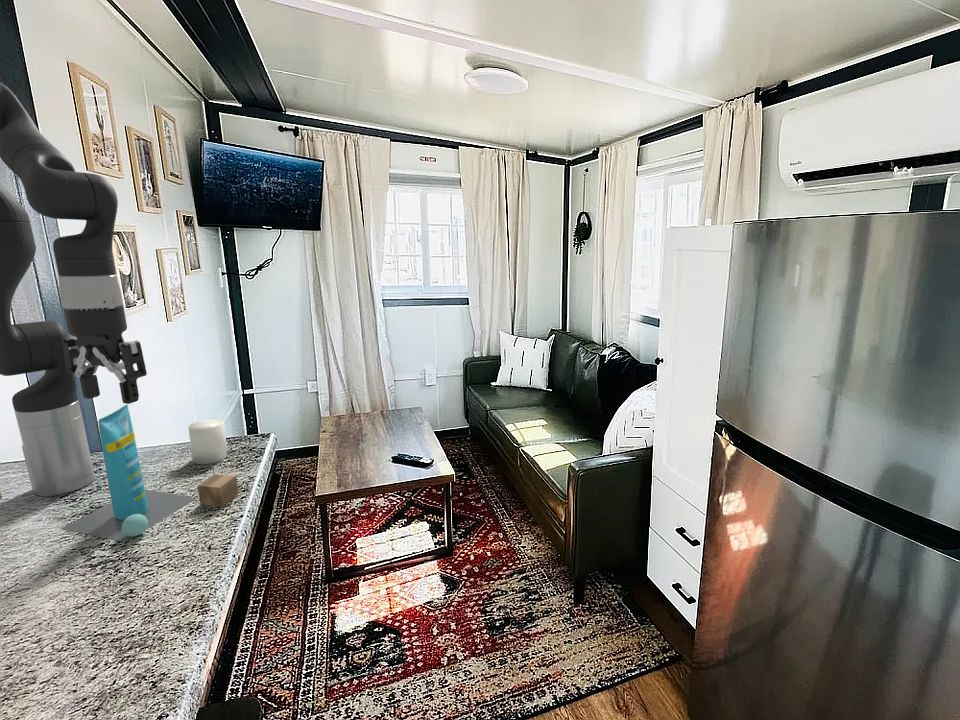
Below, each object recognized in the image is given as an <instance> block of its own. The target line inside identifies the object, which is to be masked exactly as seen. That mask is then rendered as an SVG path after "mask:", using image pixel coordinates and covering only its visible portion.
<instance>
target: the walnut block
mask: <svg viewBox="0 0 960 720" xmlns="http://www.w3.org/2000/svg"><path fill="white" fill-rule="evenodd" d="M197 491H198V492H197V493H198V497H199V504H200V505H201V506H202V505H203V506H213V507H224V506H225V505H227V504H228V503H229V502H230V501H232V500H233V499H234V498H236V497H237V496H238V495H239V488H238V482H237V476H236V475H227V474H216V473H215V474H213V475H212V476H210V477H208V478H207V479H206V480H204V481H202V482H201V483H200V484H198V485H197Z"/></svg>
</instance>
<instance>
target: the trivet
mask: <svg viewBox="0 0 960 720" xmlns="http://www.w3.org/2000/svg"><path fill="white" fill-rule="evenodd" d="M144 489H145V488H144ZM145 493H146V498H147V504H148V509H147V511H146V512H145V513H143V514H141V515H144V516H145V517H146V518H147V520H148V527H147V529H146V530H148V529H149V528H151V527H152V526H154V525H157V524H158V523H159V522H161V521H162V520H164V519H166V518H168V517H169V516H171V515H173V514H174V513H176V512H177V511H179V510H181V509H183V508H184V507H186V506H188V505H189V504H190V503H192V502H194V501H196V500H197V499H198V497H192V496H188V495H187V496H186V495H180V494H175V493H171V492H170V493H169V492H164V491H156V490H152V489H151V490H150V489H145ZM124 520H125V519H124ZM124 520H120V519H116V518H115V517H114V512H113V506H112V502H110V503H109V504H107V505H105V506H103V507H101V508H99V509H97V510H95V511H94V512H92V513H89V514H88V515H86V516H83V517H82V518H79V519H78V520H75V521H73V522H72V523H70V524H68V525H66V526H64V527H61V530H65V531H68V532H74V533H79V534H82V535H83V534H84V535H89V536H94V537H98V538H103V539H108V540H113V541H119V542H123V543H127V542H128V541H130V540H131V539H133V538H134V537H131V536H127V535H125V534H124V533H123V531H122V524H123V522H124Z"/></svg>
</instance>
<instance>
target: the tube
mask: <svg viewBox="0 0 960 720" xmlns="http://www.w3.org/2000/svg"><path fill="white" fill-rule="evenodd" d="M128 405H129V404H125V405H122V406H120V408H119V409H116V410H115V411H113V412H111V413H110V414H107V415H105V416H103V417H101V418H99V419H98V422H97V423H98V429H99V430H98V431H99V436H100V442H101V449H102V455H103V456H102V457H103V461H104V467H105V472H106V477H107V482H108V483H107V484H108V489H109V494H110V500H111V503H112V506H113V512H114V517H115V518H116V519H120V520H124V519H126V518H127V517H129V516H131V515H134V514H143V513H145V512H146V511H147V509H148V504H147V498H146V493H145V483H144V480H143V475H142V469H141V464H140V459H139V458H140V457H139V453H138V448H137V447H138V446H137V442H136V438H135V431H134V428H133V423H132V418H131V415H130V413H131V412H130V410H129V406H128Z"/></svg>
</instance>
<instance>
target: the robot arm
mask: <svg viewBox="0 0 960 720" xmlns="http://www.w3.org/2000/svg"><path fill="white" fill-rule="evenodd" d="M0 160H1V161H2V162H3V163H4V164H5V165H6V166H7V168H8V169H10V171H12V172H13V174H15V175H16V176H17V177H18V178H19V180H20V182H21V183H22V186H23V189H24V191H25V192H24V193H25V197H26V199H27V202H28V204H29V206H30V207H31V209H32V210H34V211H35V212H37V213H38V214H39V215H42V216H44V217H47V218H51V219H57V220H77V221H79V220H80V221H85V225H84V229H83V230H82V232H79V233H77V234H72V235H70V234H69V235H66V236H65V235H64V236H60V237H57V238H55V239H54V241H53V242H52V247H53V248H52V250H53V255H54V259H55V263H56V269H57V270H56V271H57V273H58V281H59V282H58V284H59V285H58V287H59V294H60V300H61V306H62V309H63V315H64V319H65V324H66V325H65V326H66V329H65V328H64V326H63V325H62V324H61V323H60V322H57V321H55V320H43V321H33V322H32V321H31V322H22V323H13V324H12V318H11V317H12V316H11V310H12V309H11V307H12V302H13V299H14V296H15V293H16V291H17V289H18V286H19V285H20V283H21V281H22V279H23V278H24V277H25V275H26V274H27V271H28V269H29V268H30V267H31V265H32V263H33V261H34V258H35V255H36V252H37V245H36V241H35V237H34V233H33V228H32V224H31V220H30V217H29V214H28V212H27V211H26V208H25V207H24V206H23V205H22V204H21V202H20V201H19V199H17V198H16V197H15V196H14V195H13V194H12V193H11V192H10V191H9V190H8V189H7V188H6V187H5V186H4V185H3V184H1V182H0V376H4V377H11V376H18V375H24V374H30V373H37V372H42V371H45V372H44V374H43V375H42V376H41V377H40V378H39V379H38V380H37V381H36V382H34V383H32V384H31V385H29V386H27V387H25V388H23V389H21V390H18V391H17V392H16V393H15V394H13V395H12V398H11V401H12V406H13V410H14V414H15V419H16V422H17V425H18V429H19V434H20V438H21V442H22V445H21V449H22V452H23V456H24V457H23V458H24V462H25V465H26V469H27V473H28V474H27V475H28V477H29V481H30V484H31V485H30V486H31V490H33V491H34V494H35V495H36V496H39V497H51V496H52V497H54V496H59V495H63V494H68V493H71V492H74V491H77V490H79V489H82V488H84V487H86V486H88V485H89V484H92V482H93V481H94V480H95V479H96V478H95V473H94V472H95V470H94V467H93V466H94V465H93V461H92V458H91V456H92V455H91V452H90V447H89V442H88V438H87V434H86V429H85V423H84V419H83V415H82V409H81V406H80V401H79V396H78V387H77V386H78V385H77V380H76V378H78V379H79V382H80V384H79V385H80V388H81V392H82V395H83V398H84V399H86V400H87V399H88V400H91V399H93V398H98V397H99V396H101V391H100V386H99V381H98V376H97V374H96V372H97V371H98V368H99V367H102V368H106V369H107V371H108V372H110V373H113V374H114V375H115V377H116V379H118V381H119V382H118V383H119V384H118V385H119V388H120V389H119V390H120V393H121V394H120V395H121V400H122V401H121V402H122V403H123V404H125V405H126V404H127V405H130V404H133V403H135V402H137V401H139V399H140V394H139V393H140V392H139V389H138V379H139V378H142V377H146V376H147V368H146V364H145V359H144V358H145V357H144V355H143V349H142V345H141V342H140V341H139V340H133V341H131V340H130V341H125V340H124V337H123V333H124V332H126V331H127V330H128V324H127V319H126V314H125V307H124V302H123V301H124V300H123V296H122V291H121V290H122V289H121V286H120V282H119V280H118V277H117V272H116V271H117V270H116V265H115V260H114V255H113V241H114V231H115V224H116V220H117V219H116V218H117V213H118V206H119V203H118V195H117V193H116V190H115V188H114V186H112V184H111V183H110V182H109V180H107V179H106V178H105V177H103V175H102V176H101V175H100V174H99V175H98V174H95V173H89V172H79V171H76V170H75V167H74V165H73V164H72V163H71V161H70V160H69V159H68V158H67V157H66V156H65V154H63V153H62V152H61V151H60V150H59V149H58V148H56V147H55V145H53V144H52V142H50V141H49V140H48V139H47V138H46V137H45V136H44V135H43V133H41V131H40V130H39V128H38V127H37V125H36V124H35V122H34V120H33V119H32V118H31V116H30V115H29V113H28V111H27V110H26V108H24V106H23V105H22V103H21V102H20V100H19V99H18V97H17V96H16V94H14V92H13V91H12V90H11V89H10V88H9V87H8V86H7V85H5V84H4V83H2V82H1V81H0ZM69 335H70V336H69ZM74 359H76V362H75V363H74ZM121 361H122V362H121ZM135 364H136V368H135V367H134V365H135ZM136 369H137V370H136ZM123 370H124V371H125V372H124V371H123Z"/></svg>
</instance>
